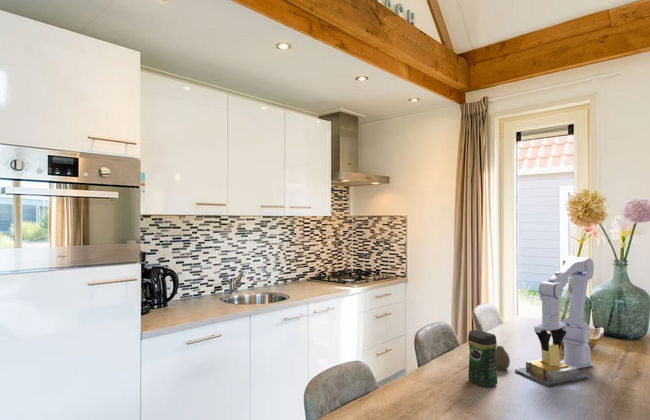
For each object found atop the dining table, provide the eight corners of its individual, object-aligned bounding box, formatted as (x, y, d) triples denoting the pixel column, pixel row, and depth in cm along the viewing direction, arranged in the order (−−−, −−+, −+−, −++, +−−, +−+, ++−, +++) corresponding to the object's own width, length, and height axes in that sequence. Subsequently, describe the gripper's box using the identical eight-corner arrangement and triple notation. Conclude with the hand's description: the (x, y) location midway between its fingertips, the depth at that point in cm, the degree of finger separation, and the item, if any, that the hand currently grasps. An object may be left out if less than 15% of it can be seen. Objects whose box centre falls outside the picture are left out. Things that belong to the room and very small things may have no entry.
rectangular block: (552, 362, 154) (550, 342, 155) (560, 365, 150) (558, 344, 151) (542, 363, 153) (540, 343, 154) (550, 366, 149) (548, 345, 150)
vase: (511, 372, 155) (511, 350, 155) (492, 371, 156) (492, 349, 156) (507, 366, 162) (507, 344, 162) (489, 365, 163) (489, 343, 163)
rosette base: (552, 365, 163) (552, 353, 163) (588, 379, 149) (588, 366, 149) (515, 371, 156) (514, 360, 156) (548, 387, 142) (548, 374, 142)
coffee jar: (501, 385, 144) (500, 333, 144) (486, 389, 140) (486, 336, 140) (478, 375, 152) (478, 326, 152) (464, 380, 148) (464, 329, 148)
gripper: (555, 309, 159) (555, 344, 158) (527, 312, 154) (527, 348, 153) (571, 313, 152) (572, 349, 152) (543, 317, 147) (543, 354, 147)
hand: (550, 349), depth 152 cm, fingers open, 5 cm apart
